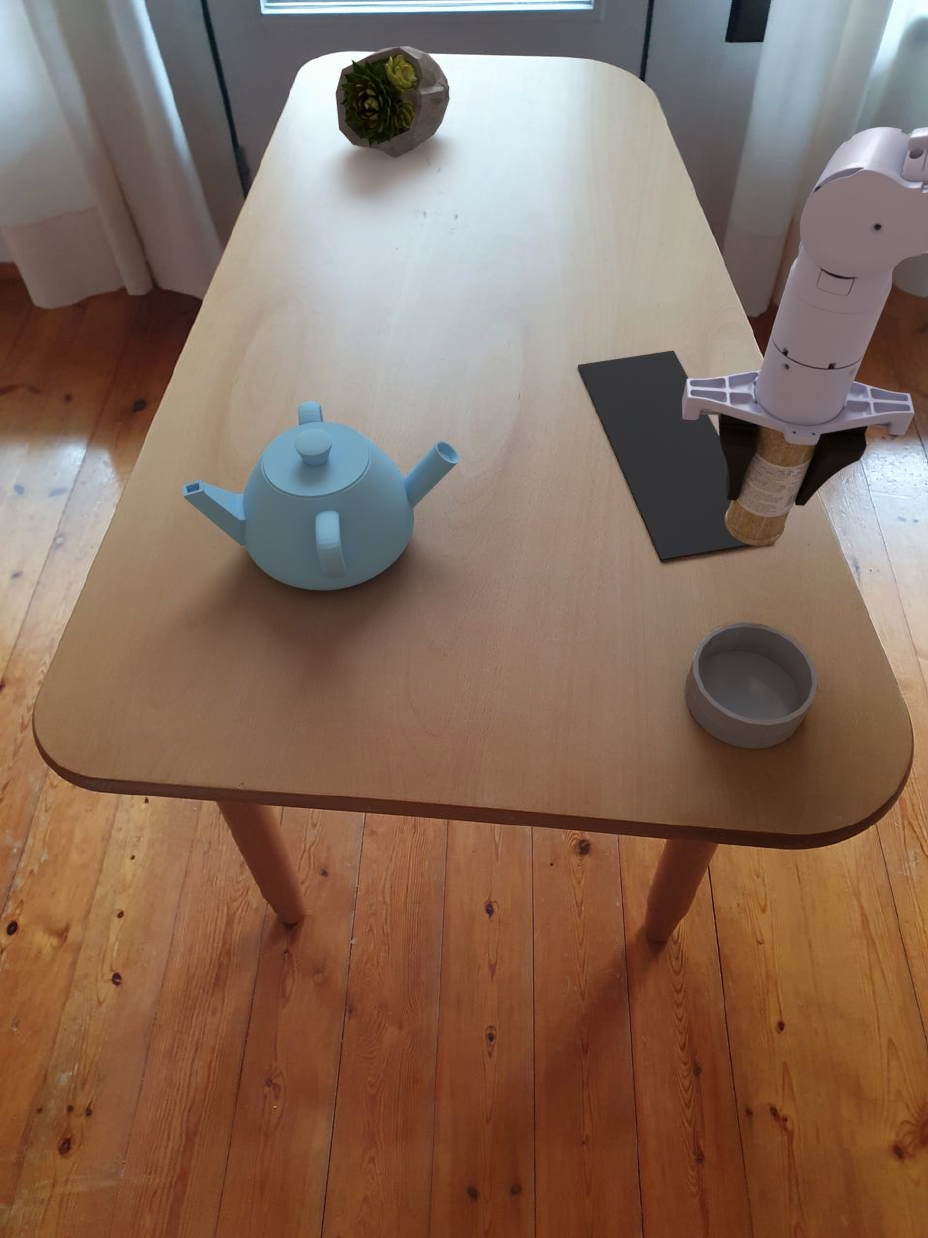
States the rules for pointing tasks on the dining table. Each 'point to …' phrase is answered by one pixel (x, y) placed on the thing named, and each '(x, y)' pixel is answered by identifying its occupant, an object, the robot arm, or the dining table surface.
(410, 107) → the potted plant
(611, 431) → the mat
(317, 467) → the teapot
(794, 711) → the basin
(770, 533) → the sprinkles bottle
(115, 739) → the dining table surface
